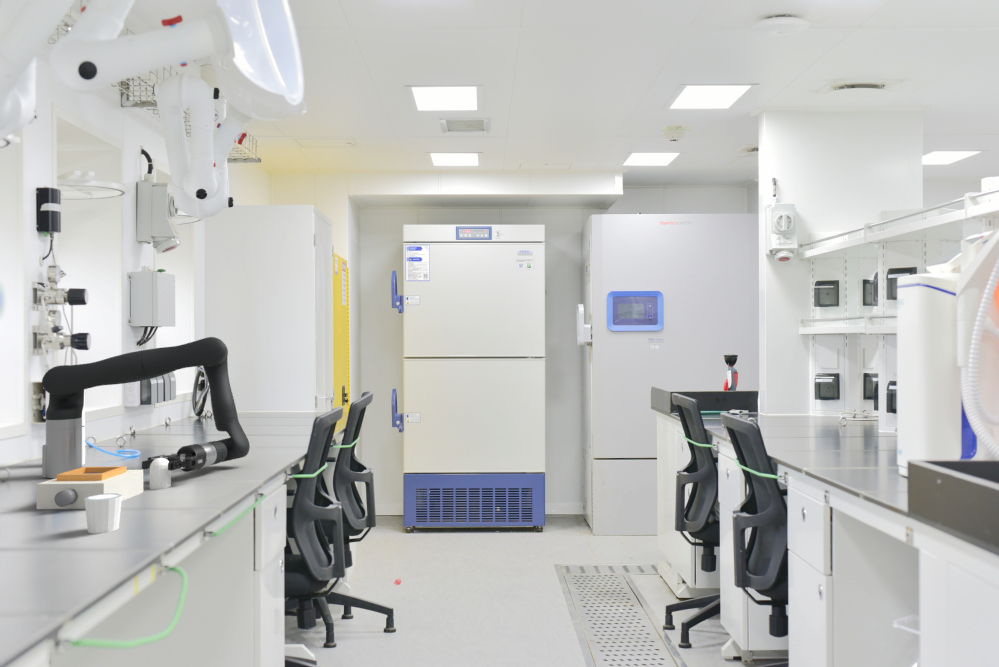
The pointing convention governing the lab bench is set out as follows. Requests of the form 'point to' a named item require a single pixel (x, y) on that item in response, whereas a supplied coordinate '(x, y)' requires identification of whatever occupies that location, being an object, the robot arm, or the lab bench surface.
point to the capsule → (160, 474)
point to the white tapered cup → (103, 512)
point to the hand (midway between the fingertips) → (155, 466)
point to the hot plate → (88, 486)
